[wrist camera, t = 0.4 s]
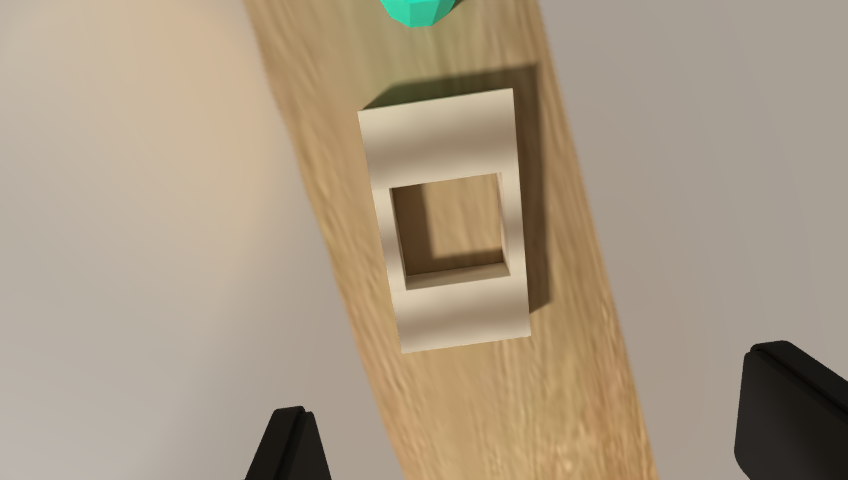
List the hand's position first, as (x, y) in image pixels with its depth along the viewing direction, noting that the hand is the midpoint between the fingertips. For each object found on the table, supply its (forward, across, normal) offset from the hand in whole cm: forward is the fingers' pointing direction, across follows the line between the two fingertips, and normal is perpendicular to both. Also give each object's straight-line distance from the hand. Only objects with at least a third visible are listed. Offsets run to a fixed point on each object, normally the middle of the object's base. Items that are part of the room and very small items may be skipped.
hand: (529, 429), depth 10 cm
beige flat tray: (+28, 0, +4) cm, 28 cm away
